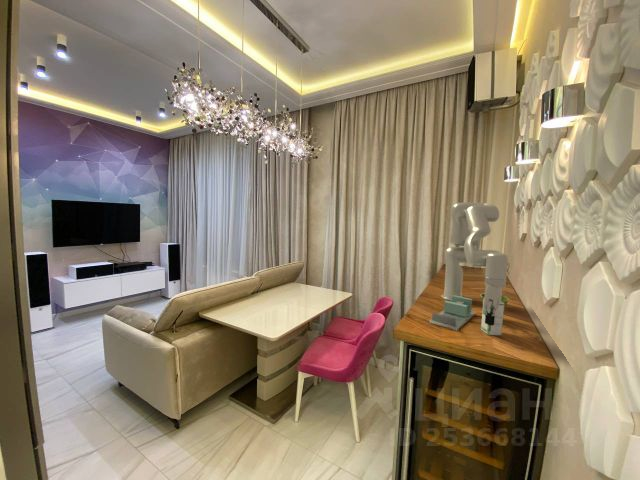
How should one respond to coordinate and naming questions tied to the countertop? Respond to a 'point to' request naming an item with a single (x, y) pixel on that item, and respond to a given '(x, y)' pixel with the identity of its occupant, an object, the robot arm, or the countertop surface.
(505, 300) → the plant pot
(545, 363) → the countertop surface
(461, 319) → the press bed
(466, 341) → the countertop surface
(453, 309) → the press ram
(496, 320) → the syrup box
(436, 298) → the countertop surface
